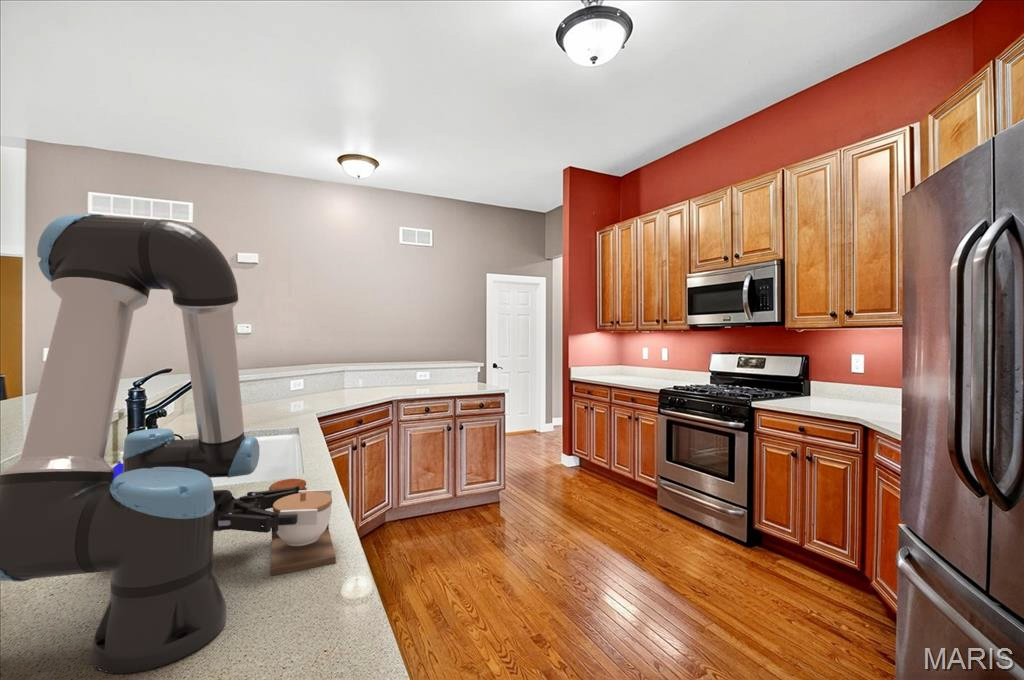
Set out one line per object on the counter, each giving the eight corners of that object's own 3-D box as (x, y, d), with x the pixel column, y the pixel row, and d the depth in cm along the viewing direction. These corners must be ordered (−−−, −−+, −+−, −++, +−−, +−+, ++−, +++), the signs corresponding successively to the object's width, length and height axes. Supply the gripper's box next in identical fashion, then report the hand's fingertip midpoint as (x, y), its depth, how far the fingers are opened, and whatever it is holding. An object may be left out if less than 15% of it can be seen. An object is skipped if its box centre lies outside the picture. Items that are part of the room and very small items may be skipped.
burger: (262, 498, 122) (263, 480, 122) (298, 490, 129) (298, 473, 129) (276, 507, 116) (276, 489, 116) (313, 498, 122) (313, 481, 122)
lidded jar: (309, 524, 98) (310, 480, 98) (342, 535, 93) (343, 489, 93) (260, 543, 89) (261, 495, 89) (294, 557, 83) (294, 506, 83)
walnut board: (335, 562, 87) (335, 548, 87) (270, 575, 82) (270, 560, 82) (327, 532, 101) (328, 519, 101) (271, 542, 96) (271, 528, 96)
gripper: (231, 508, 99) (337, 503, 103) (169, 559, 77) (307, 551, 80) (231, 473, 99) (337, 470, 103) (169, 514, 77) (308, 508, 80)
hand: (324, 505), depth 91 cm, fingers closed on lidded jar, 11 cm apart
